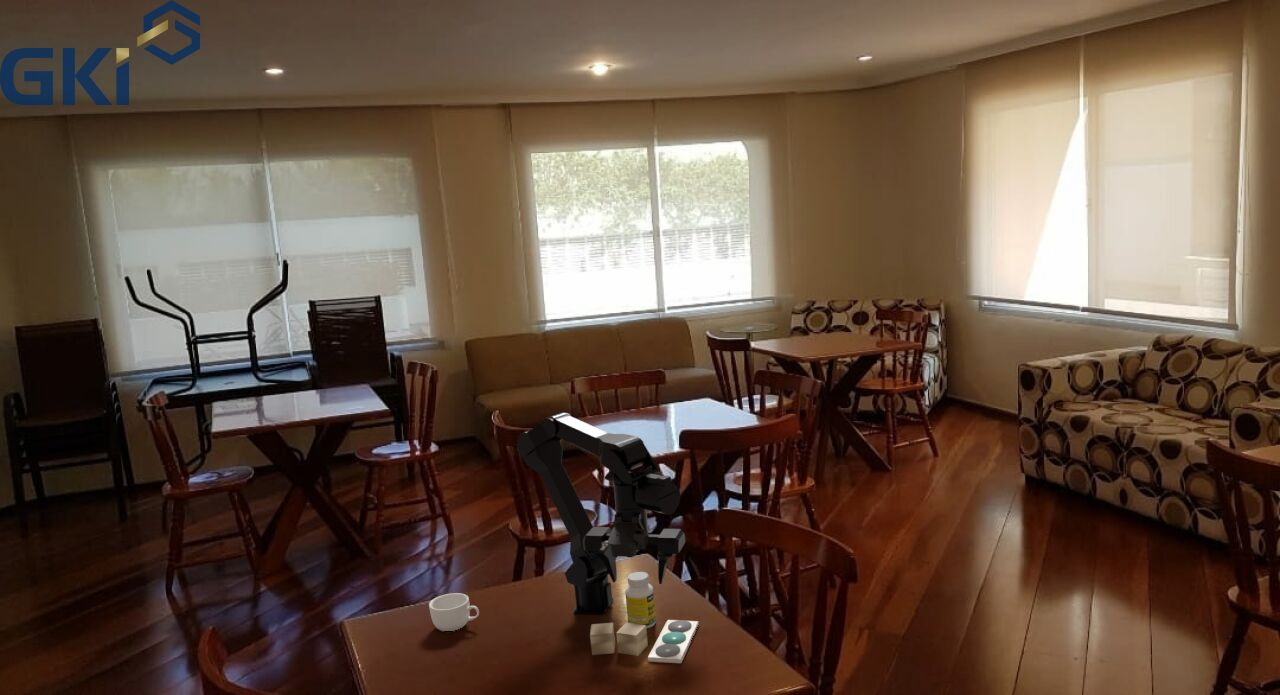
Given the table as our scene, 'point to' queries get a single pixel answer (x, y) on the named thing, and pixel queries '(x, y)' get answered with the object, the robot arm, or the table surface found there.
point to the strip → (673, 641)
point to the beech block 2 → (632, 639)
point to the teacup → (451, 611)
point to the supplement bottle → (640, 600)
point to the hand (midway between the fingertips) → (637, 582)
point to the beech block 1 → (602, 638)
